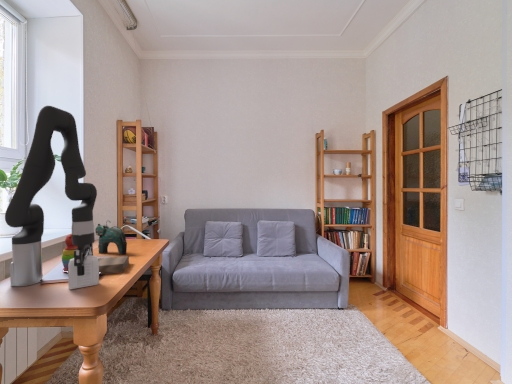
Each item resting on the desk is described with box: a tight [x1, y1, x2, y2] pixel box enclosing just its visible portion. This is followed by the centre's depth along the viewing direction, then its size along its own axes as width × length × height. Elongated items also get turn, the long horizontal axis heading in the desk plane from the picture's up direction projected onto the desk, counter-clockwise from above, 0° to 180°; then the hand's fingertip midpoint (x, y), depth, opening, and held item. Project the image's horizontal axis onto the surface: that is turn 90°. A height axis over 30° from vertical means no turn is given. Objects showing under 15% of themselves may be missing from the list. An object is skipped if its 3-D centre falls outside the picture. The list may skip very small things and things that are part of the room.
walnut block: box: [97, 255, 130, 275], centre depth 123 cm, size 14×14×4 cm
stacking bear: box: [61, 233, 78, 271], centre depth 122 cm, size 11×10×18 cm
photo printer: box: [67, 254, 100, 290], centre depth 102 cm, size 10×4×12 cm, turn 123°
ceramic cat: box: [95, 220, 128, 256], centre depth 151 cm, size 20×6×20 cm, turn 73°
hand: (84, 271), depth 102 cm, fingers open, 8 cm apart
